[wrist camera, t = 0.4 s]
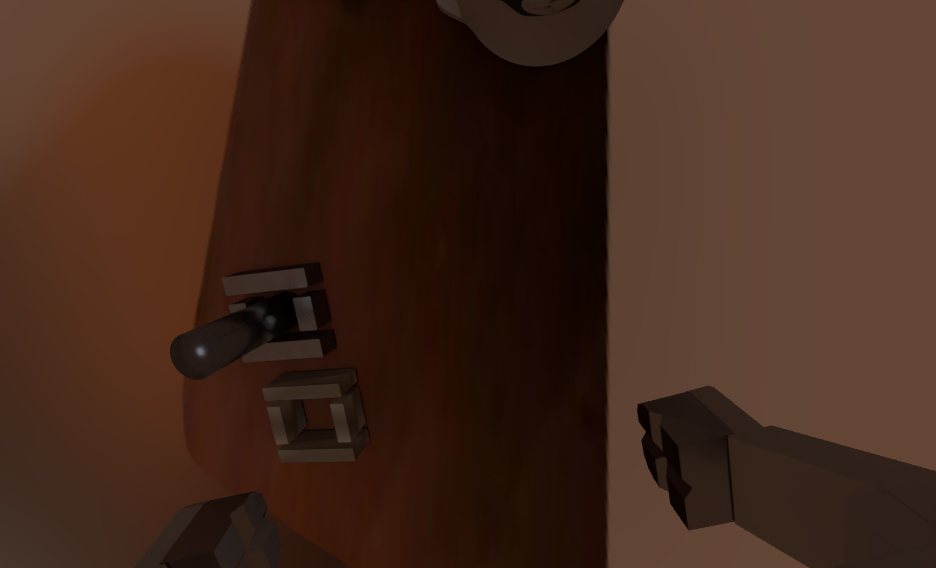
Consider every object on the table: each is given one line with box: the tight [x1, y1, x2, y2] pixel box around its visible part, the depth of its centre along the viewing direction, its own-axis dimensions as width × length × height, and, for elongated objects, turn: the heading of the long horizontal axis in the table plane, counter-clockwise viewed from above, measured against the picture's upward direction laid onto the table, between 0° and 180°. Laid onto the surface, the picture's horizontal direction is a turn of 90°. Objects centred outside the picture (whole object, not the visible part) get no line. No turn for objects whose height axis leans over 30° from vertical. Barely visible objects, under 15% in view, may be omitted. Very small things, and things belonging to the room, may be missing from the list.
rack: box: [262, 368, 369, 462], centre depth 49 cm, size 9×9×4 cm
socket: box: [222, 263, 336, 363], centre depth 48 cm, size 10×10×3 cm
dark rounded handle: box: [170, 292, 298, 380], centre depth 43 cm, size 4×4×14 cm
